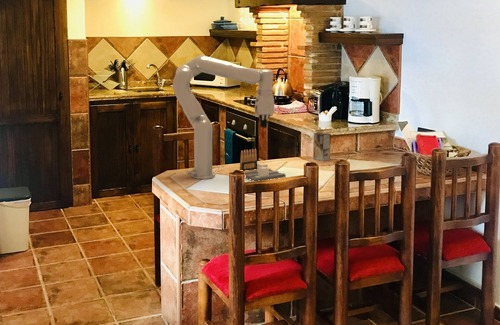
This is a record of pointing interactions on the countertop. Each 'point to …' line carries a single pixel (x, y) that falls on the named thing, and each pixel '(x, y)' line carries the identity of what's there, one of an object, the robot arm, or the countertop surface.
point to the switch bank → (272, 174)
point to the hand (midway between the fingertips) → (263, 127)
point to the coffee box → (321, 146)
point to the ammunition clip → (248, 160)
